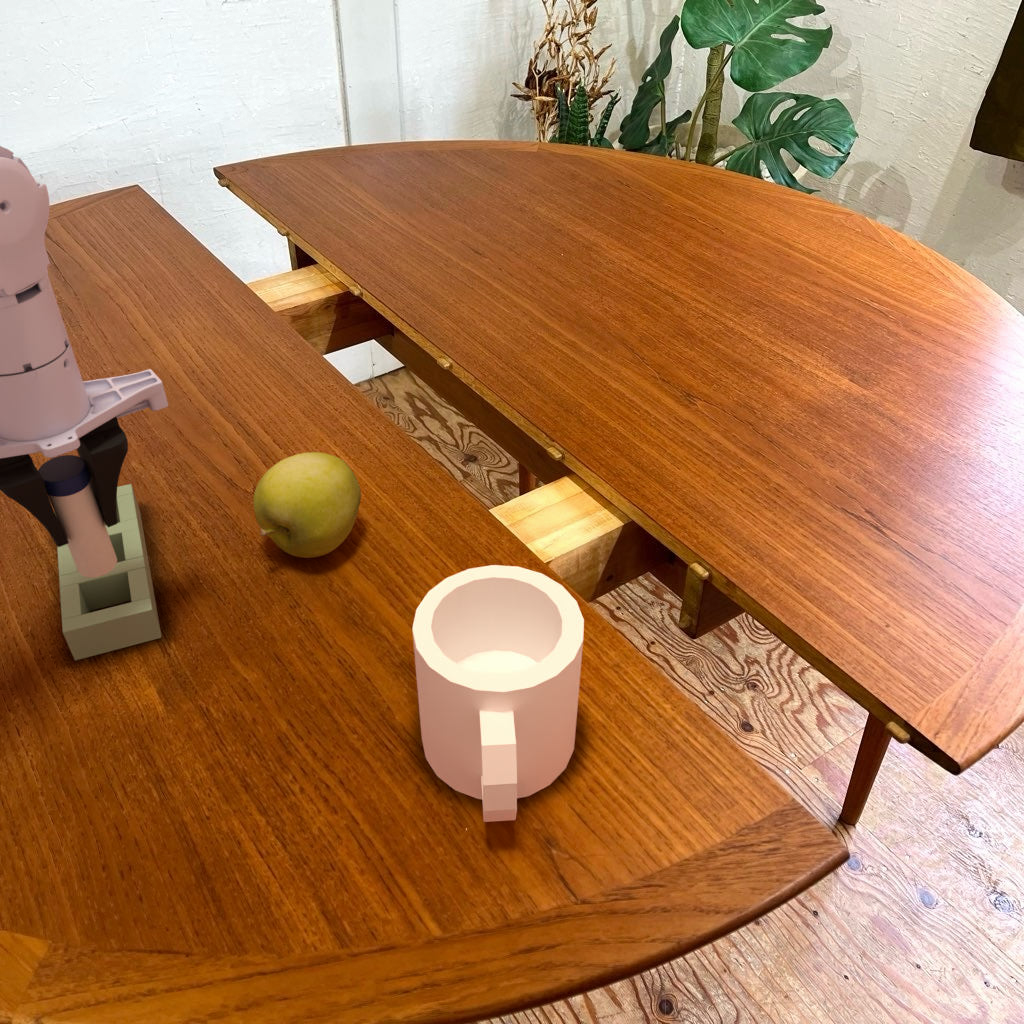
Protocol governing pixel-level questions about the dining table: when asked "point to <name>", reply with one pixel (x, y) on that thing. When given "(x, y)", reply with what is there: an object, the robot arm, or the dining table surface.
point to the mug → (498, 682)
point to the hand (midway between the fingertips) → (83, 527)
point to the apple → (307, 503)
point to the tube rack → (111, 590)
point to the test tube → (79, 514)
